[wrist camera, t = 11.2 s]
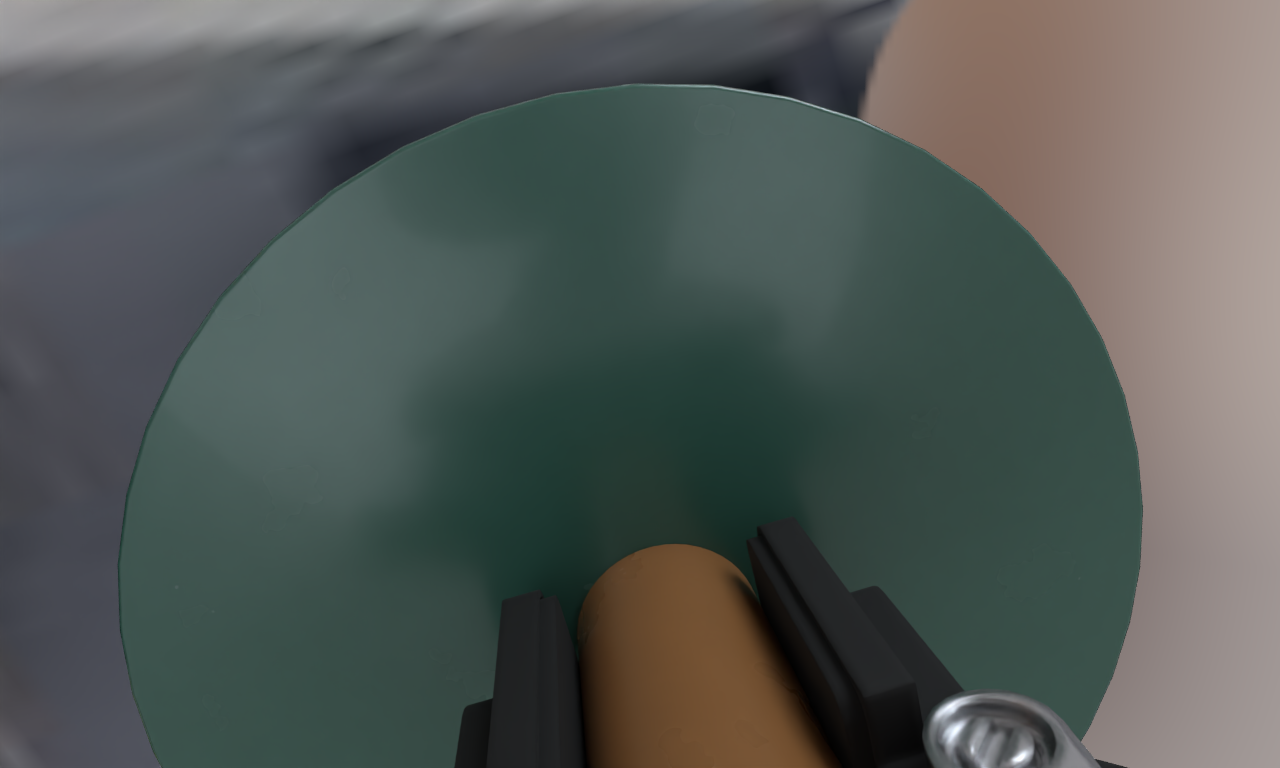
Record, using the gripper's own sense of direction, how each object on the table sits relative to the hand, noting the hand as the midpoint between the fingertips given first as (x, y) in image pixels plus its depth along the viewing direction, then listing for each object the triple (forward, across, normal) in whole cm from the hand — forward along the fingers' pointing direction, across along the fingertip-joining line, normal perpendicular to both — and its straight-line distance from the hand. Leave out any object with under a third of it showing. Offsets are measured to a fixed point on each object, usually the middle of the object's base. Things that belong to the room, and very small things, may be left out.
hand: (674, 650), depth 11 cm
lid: (+1, 0, 0) cm, 1 cm away
